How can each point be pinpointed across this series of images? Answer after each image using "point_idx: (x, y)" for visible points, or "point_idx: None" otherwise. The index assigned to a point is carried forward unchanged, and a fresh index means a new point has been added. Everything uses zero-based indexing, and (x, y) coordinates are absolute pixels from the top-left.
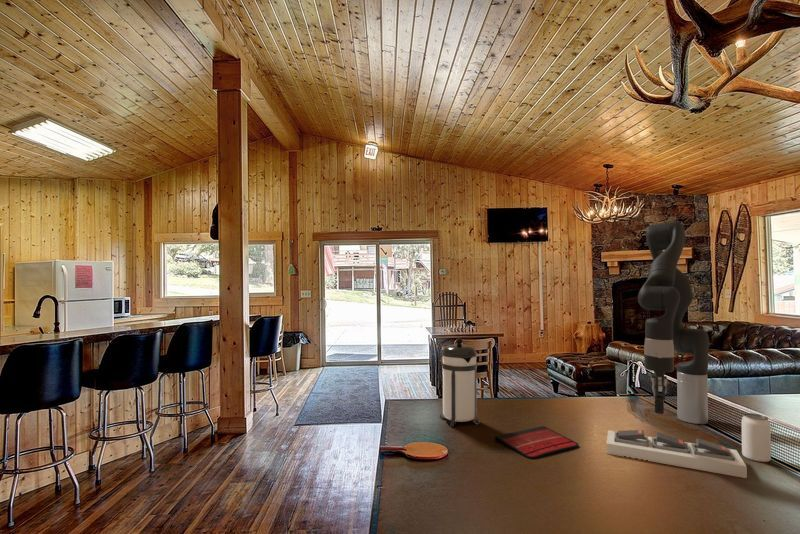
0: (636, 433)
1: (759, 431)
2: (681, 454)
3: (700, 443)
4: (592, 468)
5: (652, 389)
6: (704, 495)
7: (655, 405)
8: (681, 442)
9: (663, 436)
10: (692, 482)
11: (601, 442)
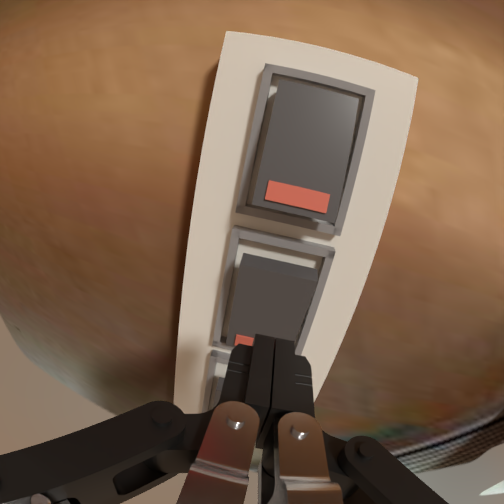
0: (285, 173)
1: None
2: (193, 309)
3: (216, 392)
4: (94, 10)
5: (227, 492)
6: (45, 274)
7: (248, 372)
8: (251, 344)
9: (272, 295)
10: (94, 275)
11: (361, 47)
